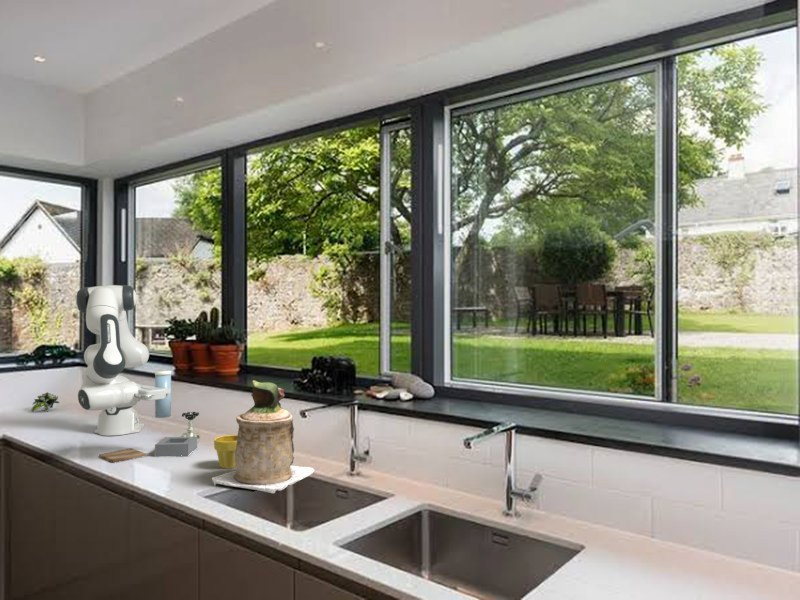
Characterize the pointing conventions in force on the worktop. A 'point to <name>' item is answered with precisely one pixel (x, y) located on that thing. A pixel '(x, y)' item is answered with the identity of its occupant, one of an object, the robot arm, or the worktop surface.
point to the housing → (175, 446)
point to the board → (122, 455)
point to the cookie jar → (264, 445)
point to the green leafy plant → (45, 401)
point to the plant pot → (226, 450)
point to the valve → (190, 429)
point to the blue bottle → (165, 404)
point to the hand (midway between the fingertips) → (165, 389)
